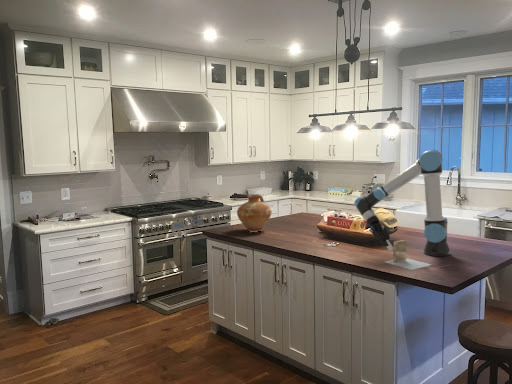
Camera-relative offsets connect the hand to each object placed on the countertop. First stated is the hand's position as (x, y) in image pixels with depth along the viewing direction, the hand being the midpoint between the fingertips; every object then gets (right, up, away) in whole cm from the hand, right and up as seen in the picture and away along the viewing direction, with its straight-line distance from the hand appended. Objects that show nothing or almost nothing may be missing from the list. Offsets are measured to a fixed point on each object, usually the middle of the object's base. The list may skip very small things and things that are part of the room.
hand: (391, 250), depth 266 cm
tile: (+3, -6, -4) cm, 8 cm away
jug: (-82, +2, +98) cm, 128 cm away
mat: (+6, -7, -9) cm, 13 cm away
